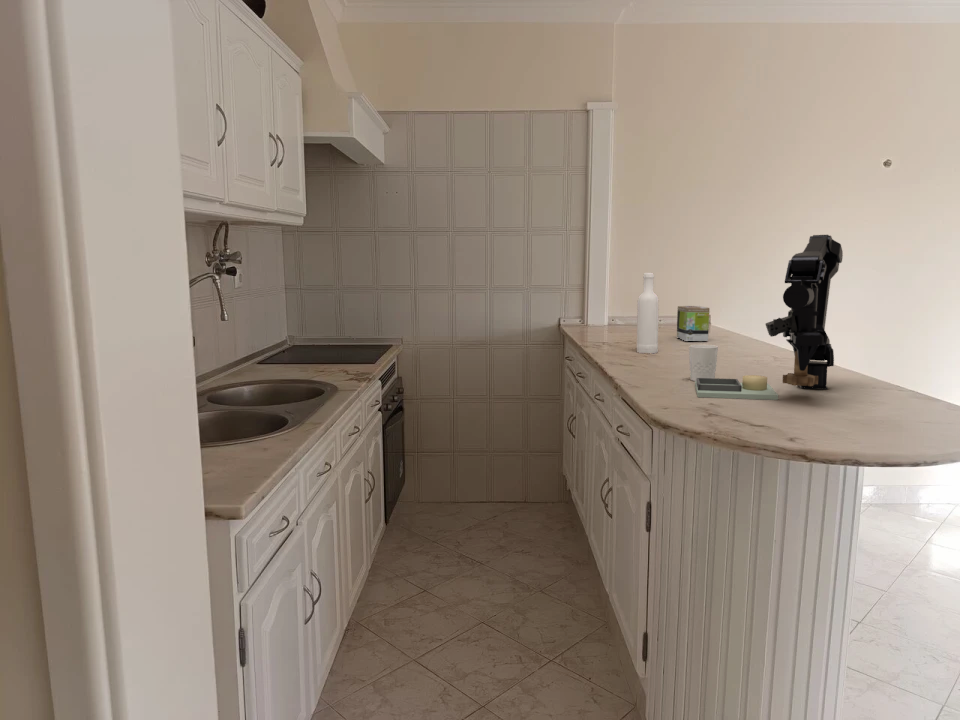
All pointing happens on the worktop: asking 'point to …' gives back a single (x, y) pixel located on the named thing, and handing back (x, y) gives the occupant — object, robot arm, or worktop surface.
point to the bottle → (647, 317)
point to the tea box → (693, 323)
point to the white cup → (702, 361)
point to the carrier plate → (736, 388)
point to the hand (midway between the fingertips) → (800, 369)
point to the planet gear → (799, 376)
